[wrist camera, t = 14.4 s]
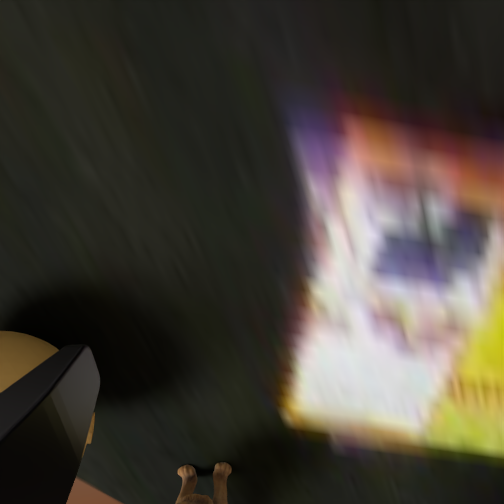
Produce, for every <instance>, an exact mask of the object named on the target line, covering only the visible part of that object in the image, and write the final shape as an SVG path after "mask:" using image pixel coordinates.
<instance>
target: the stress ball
mask: <svg viewBox="0 0 504 504" xmlns="http://www.w3.org/2000/svg"><path fill="white" fill-rule="evenodd" d="M57 351H59V350H58V349H57V348H56V347H54V346H53V345H51V344H49V343H48V342H46V341H43V340H41V339H39V338H36V337H34V336H31V335H28V334H24V333H18V332H13V331H0V393H1V392H2V391H4V390H5V389H6V388H8V387H9V386H11V385H12V384H13V383H15V382H16V381H17V380H19V379H20V378H22V377H23V376H24V375H26V374H27V373H28V372H30V371H31V370H33V369H34V368H35V367H37V366H38V365H39V364H41V363H42V362H43V361H45V360H46V359H48V358H49V357H50V356H52V355H53V354H54V353H56V352H57ZM94 417H95V413H93V416H92V420H91V424H90V428H89V432H88V436H87V440H86V444H87V443H91V440H92V436H93V428H94ZM86 444H85V447H86ZM84 451H85V448H84ZM83 454H84V452H83Z"/></svg>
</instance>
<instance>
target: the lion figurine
mask: <svg viewBox="0 0 504 504" xmlns="http://www.w3.org/2000/svg"><path fill="white" fill-rule="evenodd" d="M231 470H232V469H231V466H230V465H229V464H227V463H225V462H220V463H217V464H216V465H215V470H214V472H213V481H214V496H213V500H211V499H210V497H209V496H207V495H199V494H193V491H194V489H195V486H196V483H197V475H196V472H195V468H194V467H193V466H191V465H184V466H182V467H180V468H179V469H178V474H179V475H180V476H181V477H182V479H183V484H182V488H181V492H180V494H179V496H178V498H177V501H176V504H227V487H226V482H227V477H228V475H229V474H230V473H231Z"/></svg>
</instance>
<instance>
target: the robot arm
mask: <svg viewBox="0 0 504 504" xmlns="http://www.w3.org/2000/svg"><path fill="white" fill-rule="evenodd" d="M99 388H100V375H99V372H98V368H97V365H96V362H95V359H94V356H93V353H92V351H91V348H90V347H89V346H88V345H85V344H80V345H66V346H64V347H63V348H61V349H60V350H59V351H57V352H56V353H54V354H53V355H52V356H50V357H49V358H48V359H46V360H45V361H43V362H42V363H41V364H39V365H38V366H37V367H35V368H34V369H33V370H31V371H30V372H28V373H27V374H26V375H24V376H23V377H22V378H20V379H19V380H17V381H16V382H15V383H13V384H12V385H11V386H9V387H8V388H6V389H5V390H4V391H2V392H1V393H0V504H66V502H67V500H68V496H69V494H70V491H71V488H72V486H73V483H74V480H75V478H76V475H77V472H78V469H79V466H80V463H81V459H82V456H83V452H84V448H85V444H86V440H87V436H88V432H89V428H90V424H91V420H92V416H93V412H94V408H95V404H96V400H97V396H98V392H99Z"/></svg>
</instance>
